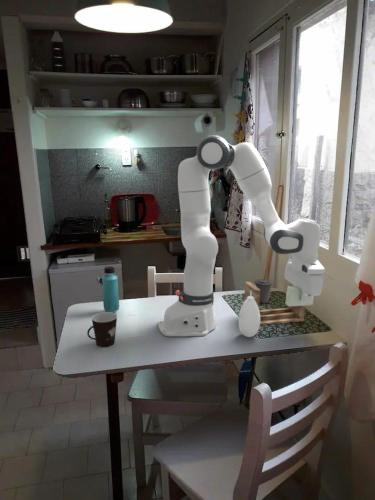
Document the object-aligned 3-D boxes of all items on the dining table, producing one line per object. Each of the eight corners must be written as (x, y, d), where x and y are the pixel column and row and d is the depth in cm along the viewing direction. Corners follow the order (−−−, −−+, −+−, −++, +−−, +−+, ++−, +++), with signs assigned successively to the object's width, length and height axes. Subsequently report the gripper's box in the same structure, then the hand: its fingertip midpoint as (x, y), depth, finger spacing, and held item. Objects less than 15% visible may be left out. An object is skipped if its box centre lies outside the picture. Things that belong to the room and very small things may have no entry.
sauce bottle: (236, 331, 144) (238, 286, 140) (257, 331, 145) (259, 286, 140) (239, 341, 137) (241, 294, 132) (261, 341, 137) (264, 294, 133)
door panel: (289, 307, 139) (291, 289, 137) (285, 304, 142) (287, 286, 140) (313, 305, 141) (316, 288, 140) (309, 302, 144) (311, 285, 143)
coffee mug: (112, 335, 140) (111, 310, 138) (121, 345, 133) (120, 318, 131) (81, 343, 134) (79, 317, 132) (89, 354, 127) (87, 326, 125)
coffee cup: (257, 304, 170) (258, 283, 168) (250, 298, 178) (251, 277, 175) (274, 303, 172) (275, 282, 169) (267, 297, 179) (268, 277, 177)
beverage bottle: (122, 313, 159) (120, 267, 155) (107, 317, 156) (105, 270, 151) (115, 308, 165) (113, 264, 160) (101, 311, 161) (98, 266, 156)
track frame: (253, 326, 149) (255, 290, 145) (243, 316, 158) (245, 282, 154) (303, 321, 154) (307, 286, 150) (291, 311, 163) (294, 278, 160)
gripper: (282, 255, 147) (278, 289, 150) (311, 271, 128) (306, 309, 131) (297, 255, 149) (293, 288, 152) (328, 270, 129) (322, 308, 133)
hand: (299, 298), depth 141 cm, fingers closed on door panel, 2 cm apart
